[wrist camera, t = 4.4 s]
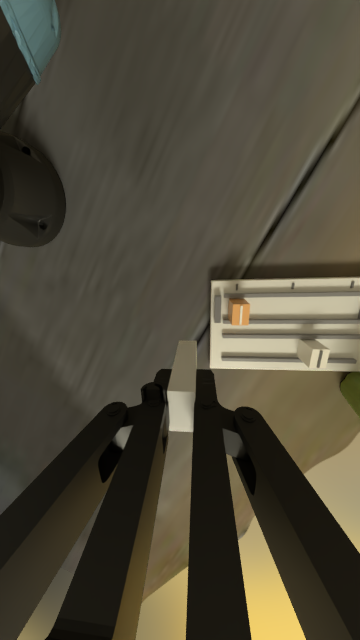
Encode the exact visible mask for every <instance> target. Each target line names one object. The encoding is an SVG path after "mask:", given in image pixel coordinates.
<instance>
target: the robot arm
mask: <svg viewBox="0 0 360 640" xmlns="http://www.w3.org/2000/svg"><path fill="white" fill-rule="evenodd" d="M60 38H61V25H60V18H59V13H58V9H57V6H56V2H55V0H0V129H1V128H2V126H3V125H4V123H5V122H6V121H7V119H8V118H9V117H10V115H11V114H12V113H13V111H14V110H15V109H16V107H17V106H18V105H19V103H20V102H21V101H22V100H23V98H24V97H25V96H26V95H27V93H28V92H29V91H30V90H31V88H32V87H33V86H34V84H35V83H36V84H37V85H38V84H39V83H40V81H41V79H40V76H41V74H42V72H43V71H44V69H45V67H46V66H47V64H48V62H49V61H50V59H51V57H52V56H53V54H54V53H55V51H56V50H57V48H58V46H59V43H60ZM65 211H66V203H65V195H64V190H63V187H62V184H61V181H60V179H59V177H58V175H57V173H56V171H55V169H54V168H53V166H52V165H51V163H50V162H49V161H48V160H47V159H46V158H45V157H44V156H43V155H42V154H41V153H40V152H39V151H38V150H36V149H35V148H33V147H32V146H30V145H29V144H27V143H26V142H24V141H23V140H21V139H19V138H17V137H15V136H13V135H10V134H7V133H4V132H0V241H3V242H5V243H8V244H11V245H15V246H23V247H39V246H42V245H45V244H47V243H49V242H50V241H52V240H53V239H54V238H55V237H56V236H57V234H58V233H59V231H60V229H61V227H62V225H63V222H64V218H65ZM141 395H142V404H140V405H137V406H133V407H129V408H127V406H126V404H125V403H123V402H113V403H111V404H108V405H107V406H106V407H104V408H103V409H102V410H101V411H100V412H99V413H98V414H97V415H96V416H95V417H94V419H93V420H92V421H91V422H90V423H89V424H88V425H87V426H86V427H85V428H84V429H83V430H82V431H81V432H80V433H79V434H78V435H77V436H76V437H75V438H74V439H73V440H72V441H71V442H70V443H69V444H68V446H67V447H66V448H65V449H64V450H63V451H62V452H61V453H60V454H59V455H58V456H57V457H56V458H55V459H54V460H53V461H52V462H51V463H50V464H49V465H48V466H47V467H46V468H45V469H44V470H43V471H42V472H41V474H40V475H39V476H38V477H37V478H36V479H35V480H34V481H33V482H32V483H31V484H30V485H29V486H28V487H27V488H26V489H25V490H24V491H23V492H22V493H21V494H20V495H19V496H18V497H17V498H16V499H15V501H14V502H13V503H12V504H11V505H10V506H9V507H8V508H7V509H6V510H5V511H4V512H3V513H2V514H1V515H0V640H17V638H18V636H19V635H20V633H21V631H22V630H23V628H24V627H25V624H26V623H27V622H28V620H29V618H30V617H31V615H32V613H33V611H34V610H35V608H36V607H37V605H38V603H39V602H40V600H41V598H42V597H43V595H44V594H45V592H46V590H47V588H48V587H49V585H50V584H51V582H52V580H53V579H54V577H55V575H56V574H57V572H58V570H59V569H60V567H61V566H62V564H63V562H64V561H65V559H66V557H67V556H68V554H69V552H70V551H71V549H72V547H73V546H74V544H75V542H76V541H77V539H78V538H79V536H80V534H81V533H82V531H83V529H84V528H85V526H86V524H87V523H88V521H89V519H90V518H91V516H92V514H93V513H94V511H95V510H96V508H97V506H98V505H99V503H100V501H101V500H102V498H103V496H104V495H105V493H106V491H107V493H106V495H105V498H104V500H103V503H102V505H101V508H100V510H99V513H98V515H97V518H96V520H95V523H94V526H93V528H92V531H91V533H90V536H89V538H88V541H87V543H86V546H85V548H84V551H83V553H82V556H81V559H80V561H79V564H78V566H77V569H76V571H75V574H74V577H73V579H72V581H71V584H70V586H69V589H68V592H67V594H66V597H65V599H64V602H63V604H62V607H61V609H60V612H59V614H58V617H57V619H56V622H55V624H54V626H53V628H52V630H51V632H50V634H49V635H48V637H47V638H46V639H45V640H135V638H136V632H137V626H138V620H139V614H140V607H141V602H142V596H143V590H144V584H145V578H146V572H147V566H148V560H149V553H150V547H151V541H152V535H153V529H154V523H155V517H156V511H157V505H158V499H159V493H160V487H161V481H162V475H163V469H164V463H165V457H166V451H167V445H168V429H169V430H170V431H183V432H193V452H192V480H191V509H190V537H189V565H188V595H187V622H186V640H251V633H250V625H249V618H248V611H247V603H246V596H245V589H244V581H243V575H242V567H241V560H240V553H239V545H238V538H237V531H236V523H235V516H234V509H233V501H232V494H231V487H230V480H229V472H228V465H227V458H226V454H228V455H231V456H232V459H233V461H234V464H235V466H236V469H237V471H238V474H239V476H240V478H241V481H242V483H243V486H244V488H245V491H246V493H247V496H248V498H249V500H250V503H251V505H252V508H253V510H254V513H255V515H256V518H257V520H258V522H259V525H260V527H261V530H262V532H263V535H264V537H265V540H266V542H267V544H268V547H269V549H270V552H271V554H272V557H273V559H274V561H275V564H276V566H277V569H278V571H279V574H280V576H281V579H282V581H283V584H284V586H285V588H286V591H287V593H288V596H289V598H290V601H291V603H292V606H293V608H294V611H295V613H296V615H297V618H298V620H299V623H300V625H301V628H302V630H303V632H304V635H305V638H306V640H360V553H359V552H358V551H357V549H356V548H355V546H354V545H353V544H352V542H351V541H350V540H349V538H348V536H347V535H346V534H345V532H344V531H343V529H342V528H341V527H340V525H339V524H338V522H337V521H336V520H335V518H334V517H333V515H332V514H331V513H330V511H329V510H328V508H327V507H326V506H325V504H324V503H323V501H322V500H321V499H320V497H319V496H318V494H317V493H316V491H315V490H314V489H313V487H312V486H311V484H310V483H309V482H308V480H307V479H306V477H305V476H304V475H303V473H302V472H301V470H300V469H299V468H298V466H297V465H296V463H295V462H294V461H293V459H292V458H291V456H290V455H289V454H288V452H287V451H286V449H285V448H284V446H283V445H282V444H281V442H280V441H279V439H278V438H277V437H276V435H275V434H274V432H273V431H272V430H271V428H270V427H269V425H268V424H267V423H266V421H265V420H264V418H263V417H262V416H261V414H260V413H259V412H258V411H256V410H255V409H253V408H250V407H239V408H237V409H236V410H235V411H231V410H228V409H226V408H224V407H222V406H221V405H220V404H219V402H218V400H217V395H216V387H215V380H214V374H213V372H212V371H211V370H203V369H197V341H179V344H178V348H177V352H176V356H175V360H174V364H173V368H172V369H161V370H160V371H158V372H157V374H156V377H155V379H154V382H151V383H148V384H146V385H144V386H143V387H142V388H141Z"/></svg>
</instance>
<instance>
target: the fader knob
mask: <svg viewBox="0 0 360 640" xmlns="http://www.w3.org/2000/svg"><path fill="white" fill-rule="evenodd" d="M249 313H250V304H249V303H248V302H247V301H246V300H245V299H229V304H228V319H229V321H230V323H231V325H249Z"/></svg>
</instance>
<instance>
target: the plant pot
mask: <svg viewBox="0 0 360 640" xmlns="http://www.w3.org/2000/svg"><path fill="white" fill-rule="evenodd" d="M340 390H341V393H342V395H343V396H344V397H345V399H346V400H347V401H348V403H349V404H350V406H351V407H352V408H353V410H354V411H355V412H356V414H357V415H358V416H359V418H360V372H356V371H353V372H351V373H349V374H348V375H347V376H346V378H345V379H344V380H343V381H342V382H341V385H340Z"/></svg>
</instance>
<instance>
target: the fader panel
mask: <svg viewBox="0 0 360 640" xmlns="http://www.w3.org/2000/svg"><path fill="white" fill-rule="evenodd" d="M229 299H245V300H246V301H247V302H248V303H249V304H250V313H249V325H231V323H230V321H229V319H228V304H229ZM210 368H225V369H269V370H312V371H356V372H360V277H317V278H274V279H232V280H211V307H210Z"/></svg>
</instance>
